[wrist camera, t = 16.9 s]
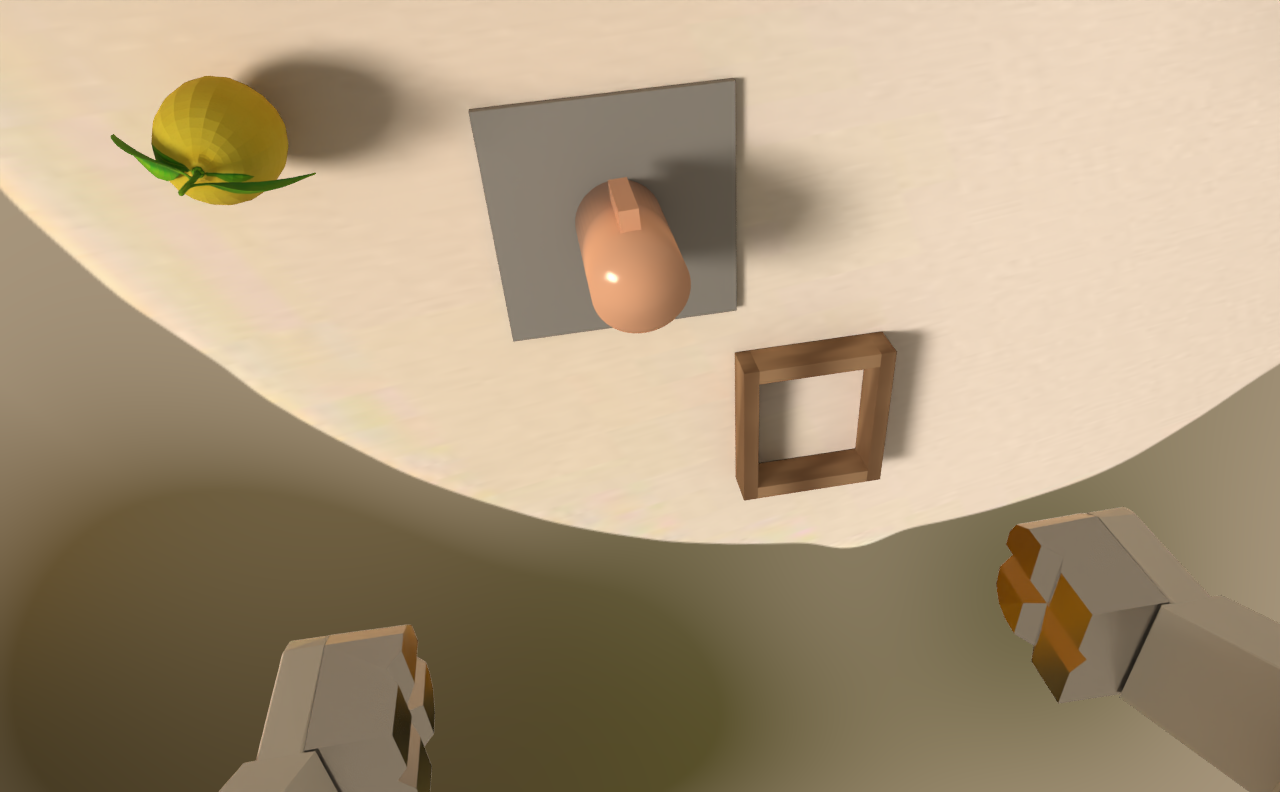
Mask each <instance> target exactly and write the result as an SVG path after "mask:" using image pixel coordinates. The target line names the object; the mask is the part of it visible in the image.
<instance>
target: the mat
mask: <svg viewBox="0 0 1280 792" xmlns="http://www.w3.org/2000/svg"><path fill="white" fill-rule="evenodd" d="M469 116H470V121H471V126H472V132H473V137H474V142H475V147H476V152H477V157H478V162H479V167H480V173H481V178H482V183H483V188H484V193H485V198H486V203H487V208H488V214H489V219H490V224H491V229H492V234H493V239H494V244H495V249H496V255H497V260H498V265H499V270H500V275H501V280H502V285H503V290H504V296H505V301H506V306H507V311H508V316H509V321H510V326H511V331H512V337H513V342H514V341H521V340H528V339H535V338H542V337H550V336H557V335H564V334H571V333H578V332H585V331H593V330H600V329H607V328H613V327H611V326H609V325H608V324H606V323H605V322H604V321H603V320H602V319H601V318H600V317H599V315H598V314H597V312H596V311H595V309H594V306H593V303H592V299H591V295H590V290H589V286H588V282H587V277H586V273H585V268H584V264H583V260H582V255H581V251H580V246H579V242H578V237H577V233H576V228H575V217H576V212H577V209H578V207H579V205H580V203H581V201H582V200H583V198H584V197H585V196H586V195H587V193H589V192H590V191H591V190H592V189H593V188H595V187H596V186H598V185H600V184H602V183H605V182H607V181H608V180H611V179H617V178H623V177H627V179H628V180H631V181H634V182H637V183H639V184H642V185H643V186H645V187H646V188H648V189H649V190H650V191H651V192H652V193H653V194H654V196H655V197H656V199H657V200H658V202H659V204H660V207H661V209H662V211H663V214H664V216H665V218H666V220H667V223H668V225H669V227H670V230H671V232H672V234H673V236H674V239H675V241H676V243H677V246H678V248H679V250H680V252H681V255H682V257H683V259H684V262H685V264H686V266H687V268H688V271H689V274H690V279H691V290H690V295H689V299H688V301H687V303H686V305H685V307H684V308H683V310H682V311H681V313H680V314H679V315H678V316H677V317H676V318H675V319H679V318H686V317H693V316H700V315H707V314H715V313H722V312H729V311H736V310H737V303H736V92H735V80H734V78H730V79H722V80H714V81H705V82H697V83H688V84H680V85H671V86H663V87H655V88H646V89H638V90H629V91H621V92H612V93H604V94H595V95H587V96H579V97H570V98H562V99H553V100H545V101H536V102H528V103H520V104H511V105H503V106H494V107H486V108H477V109H469Z"/></svg>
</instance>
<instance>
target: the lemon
mask: <svg viewBox="0 0 1280 792" xmlns="http://www.w3.org/2000/svg"><path fill="white" fill-rule="evenodd" d="M111 139H112V140H113V142H114V143H115V144H116V145H117V146H118V147H120V148H121V149H122V150H124V151H125V152H127V153H129V154H131V155H133V156H134V157H135V158H136V159H137V160H138V161H139V162H140V163H141V164H142V165H143V166H144V167H145V168H146V169H147V170H148V171H149V172H151V173H152V174H153V175H154V176H155V177H157V178H159V179H162V180H166V181H170V182H171V183H172V184H173V185H174V186H175V187H176V188H177V189H178V190H179V192H178V194H179V195H180V196H183V195H184V194H186V195H188V196H190V197H191V198H193V199H196V200H199V201H202V202H206V203H209V204H214V205H234V204H238V203H242V202H245V201H249V200H252V199H254V198H256V197H257V196H259V195H260V194H262V193H263V192H265V191H269V190H273V189H277V188H281V187H284V186H287V185H290V184H292V183H295V182H297V181H300V180H302V179H304V178H307V177H309V176H312V175H314V174H316V173H312V174H308V175H303V176H298V177H293V178H287V179H280V180H277V178H278V177H279V175H280V174H281V172H282V170H283V169H284V167H285V164H286V159H287V153H288V139H287V133H286V127H285V124H284V122H283V121H282V119H281V117H280V115H279V114H278V112H277V110H276V109H275V108H274V107H273V106H272V105H271V104H270V103H269V102H268V101H267V99H266V98H265V97H264V96H262V95H261V94H259V93H258V92H256V91H255V90H253V89H252V88H250V87H249V86H247V85H245V84H242V83H240V82H238V81H235V80H233V79H230V78H226V77H214V76H204V77H201V78H198V79H194V80H191V81H188V82H186V83H184V84H182V85H181V86H180V87H179V88H177V89H176V90H175V91H174V92H172V93H171V94H170V95H169V96H168V97H166V99H165V100H164V101H163V103H162V105H161V106H160V108H159V110H158V112H157V114H156V116H155V118H154V120H153V129H152V148H153V151H154V155H155V159H156V160H154V159H152V158H149V157H147V156H145V155H144V154H142V153H140V152H138V151H136V150H135V149H133V148H132V147H130V146H128V145H127V144H126V143H124V142H123V141H122V140H120V139H119V138H117V137H116V136H115V135H114V134H113V135H111Z"/></svg>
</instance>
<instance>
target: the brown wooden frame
mask: <svg viewBox="0 0 1280 792" xmlns="http://www.w3.org/2000/svg"><path fill="white" fill-rule="evenodd" d="M896 354H897V351H896V350H895V349H894V347H893V346H892V345H891V343H890V342H889V340H888V339H887V338H886V336H885V335H884V334H883V332H876V333H869V334H862V335H855V336H848V337H841V338H834V339H827V340H820V341H813V342H806V343H799V344H792V345H785V346H778V347H771V348H764V349H757V350H750V351H743V352H736V353H735V440H736V479H737V482H738V485H739V488H740V491H741V493H742V496H743V499H744V500H750V499H757V498H763V497H769V496H776V495H782V494H789V493H795V492H801V491H808V490H814V489H821V488H827V487H833V486H840V485H846V484H852V483H859V482H865V481H872V480H878V479H880V475H881V467H882V460H883V452H884V445H885V437H886V430H887V422H888V415H889V407H890V400H891V392H892V385H893V377H894V370H895V362H896ZM862 369H864V372H863V381H862V391H861V400H860V410H859V419H858V429H857V438H856V447H855V449H850V450H844V451H837V452H831V453H824V454H818V455H811V456H805V457H798V458H792V459H785V460H779V461H772V462H766V463H759V464H758V451H759V385H760V384H767V383H773V382H780V381H787V380H794V379H801V378H808V377H814V376H821V375H828V374H835V373H842V372H849V371H855V370H862Z"/></svg>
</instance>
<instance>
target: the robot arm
mask: <svg viewBox="0 0 1280 792" xmlns="http://www.w3.org/2000/svg"><path fill="white" fill-rule="evenodd" d="M1006 545H1007V547H1008V548H1009V550H1010V551H1011V553H1012V554H1013V555H1012V556H1011V557H1010V558H1009V559H1008V560H1007V561H1005V562H1004V563H1003V564H1002V566H1000V568H999V573H998V578H997V582H996V587H997V594H998V601H999V605H1000V608H1001V610H1002V612H1003V615H1004V618H1005V619H1006V621H1007V623H1008V624H1009V626H1010V628H1011V629H1012V631H1013V633H1014V634H1016V635H1017V636H1019V637H1020V638H1022V639H1024V640H1025V641H1027V642H1029V643H1030V644H1032V645H1034V646H1033V653H1032V659H1031V661H1032V663H1033V664H1034V666H1035V668H1036V669H1037V671H1038V673H1039V674H1040V676H1041V677H1042V679H1043V680H1044V682H1045V684H1046V685H1047V686H1048V688H1049V690H1050V691H1051V693H1052V694H1053V696H1054V698H1055V699H1056V701H1057V702H1058V703H1064V702H1071V701H1077V700H1083V699H1090V698H1097V697H1104V696H1110V695H1117V694H1121V695H1120V697H1119V698H1121V699H1122V700H1124V701H1125V702H1126V703H1128V704H1129V705H1130V706H1132V707H1133V708H1135V709H1136V710H1137V711H1139V712H1140V713H1142V714H1143V715H1144V716H1146V717H1147V718H1148V719H1150V720H1151V721H1152V722H1154V723H1155V724H1157V725H1158V726H1159V727H1161V728H1162V729H1164V730H1165V731H1166V732H1168V733H1169V734H1170V735H1172V736H1173V737H1175V738H1176V739H1177V740H1179V741H1180V742H1181V743H1183V744H1184V745H1186V746H1187V747H1188V748H1190V749H1191V750H1192V751H1194V752H1195V753H1197V754H1198V755H1199V756H1201V757H1202V758H1203V759H1205V760H1206V761H1208V762H1209V763H1210V764H1212V765H1213V766H1214V767H1216V768H1217V769H1219V770H1220V771H1221V772H1223V773H1224V774H1225V775H1227V776H1228V777H1230V778H1231V779H1232V780H1234V781H1235V782H1236V783H1238V784H1239V785H1241V786H1242V787H1243V788H1245V789H1246V790H1248V791H1249V792H1280V623H1278V622H1276V621H1274V620H1271V619H1270V618H1268V617H1266V616H1264V615H1262V614H1259V613H1257V612H1255V611H1253V610H1251V609H1249V608H1247V607H1245V606H1243V605H1241V604H1239V603H1237V602H1235V601H1233V600H1231V599H1229V598H1226V597H1225V596H1222V595H1219V596H1210V595H1209V594H1208V593H1207V592H1206V591H1205V590H1204V588H1203V587H1202V586H1201V585H1200V584H1199V583H1198V582H1197V581H1196V580H1195V579H1194V578H1193V577H1192V575H1191V574H1190V573H1189V572H1188V571H1187V570H1186V569H1185V568H1184V567H1183V565H1182V564H1181V563H1180V562H1179V561H1178V560H1177V559H1176V558H1175V557H1174V556H1173V555H1172V553H1171V552H1170V551H1169V550H1168V549H1167V548H1166V547H1165V546H1164V545H1163V544H1162V543H1161V541H1160V540H1159V539H1158V538H1157V537H1156V536H1155V535H1154V534H1153V533H1152V532H1151V530H1150V529H1149V528H1148V527H1147V526H1146V525H1145V524H1144V523H1143V522H1142V521H1141V519H1140V518H1139V517H1138V516H1137V515H1136V514H1135V513H1134V512H1133V511H1131V510H1129V509H1127V508H1125V507H1120V508H1114V509H1108V510H1102V511H1095V512H1089V513H1086V514H1084V513H1080V514H1074V515H1068V516H1062V517H1057V518H1051V519H1045V520H1040V521H1034V522H1028V523H1022V524H1017V525H1016V526H1015V527H1014V528H1013V529H1012V530H1011V531H1010V532H1009V536H1008V539H1007V543H1006ZM417 648H418V639H417V637H416V635H415V632H414V630H413V627H412V625H401V626H394V627H386V628H379V629H371V630H365V631H357V632H349V633H342V634H335V635H329V636H322V637H316V638H309V639H302V640H295V641H290V643H289V644H288V646H287V647H286V649H285V650H284V652H283V654H282V658H281V662H280V666H279V670H278V674H277V678H276V682H275V686H274V690H273V694H272V698H271V702H270V706H269V710H268V714H267V718H266V722H265V726H264V730H263V734H262V738H261V742H260V746H259V750H258V755H257V758H256V761H252V762H247V763H243V765H242V766H241V767H240V768H239V769H238V770H237V771H236V773H235V774H234V775H233V776H232V777H231V778H230V780H229V781H228V782H227V783H226V784H225V785H224V786H223V788H222V789H221V790H220V791H219V792H430V787H431V772H432V765H431V763H430V760H429V757H428V755H427V752H426V750H425V745H426V744H427V742H428V741H429V740H430V738H431V737H432V736H433V734H434V720H435V707H434V692H433V686H432V681H431V676H430V672H429V669H428V667H427V664H426V662H425V661H423V660H421V659H419V658H418V657H417Z"/></svg>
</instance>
